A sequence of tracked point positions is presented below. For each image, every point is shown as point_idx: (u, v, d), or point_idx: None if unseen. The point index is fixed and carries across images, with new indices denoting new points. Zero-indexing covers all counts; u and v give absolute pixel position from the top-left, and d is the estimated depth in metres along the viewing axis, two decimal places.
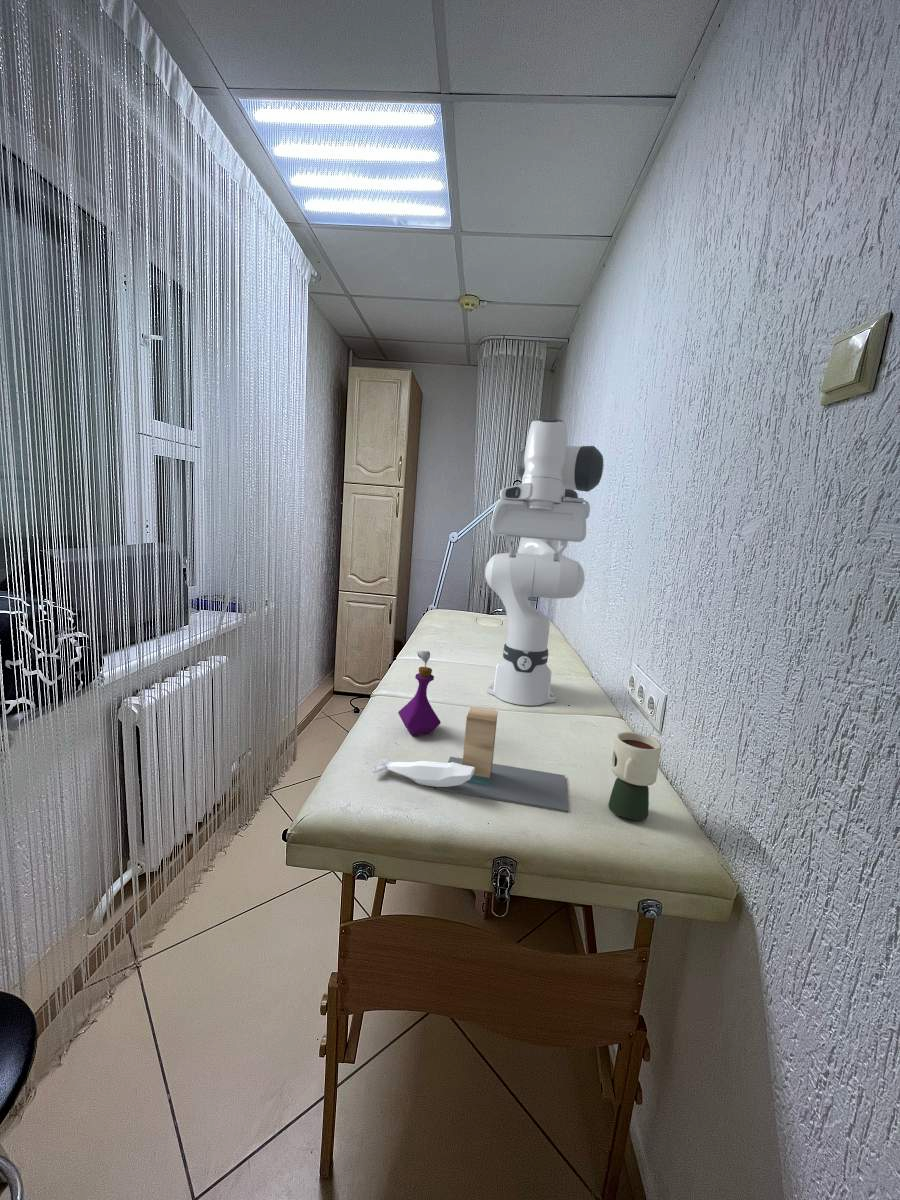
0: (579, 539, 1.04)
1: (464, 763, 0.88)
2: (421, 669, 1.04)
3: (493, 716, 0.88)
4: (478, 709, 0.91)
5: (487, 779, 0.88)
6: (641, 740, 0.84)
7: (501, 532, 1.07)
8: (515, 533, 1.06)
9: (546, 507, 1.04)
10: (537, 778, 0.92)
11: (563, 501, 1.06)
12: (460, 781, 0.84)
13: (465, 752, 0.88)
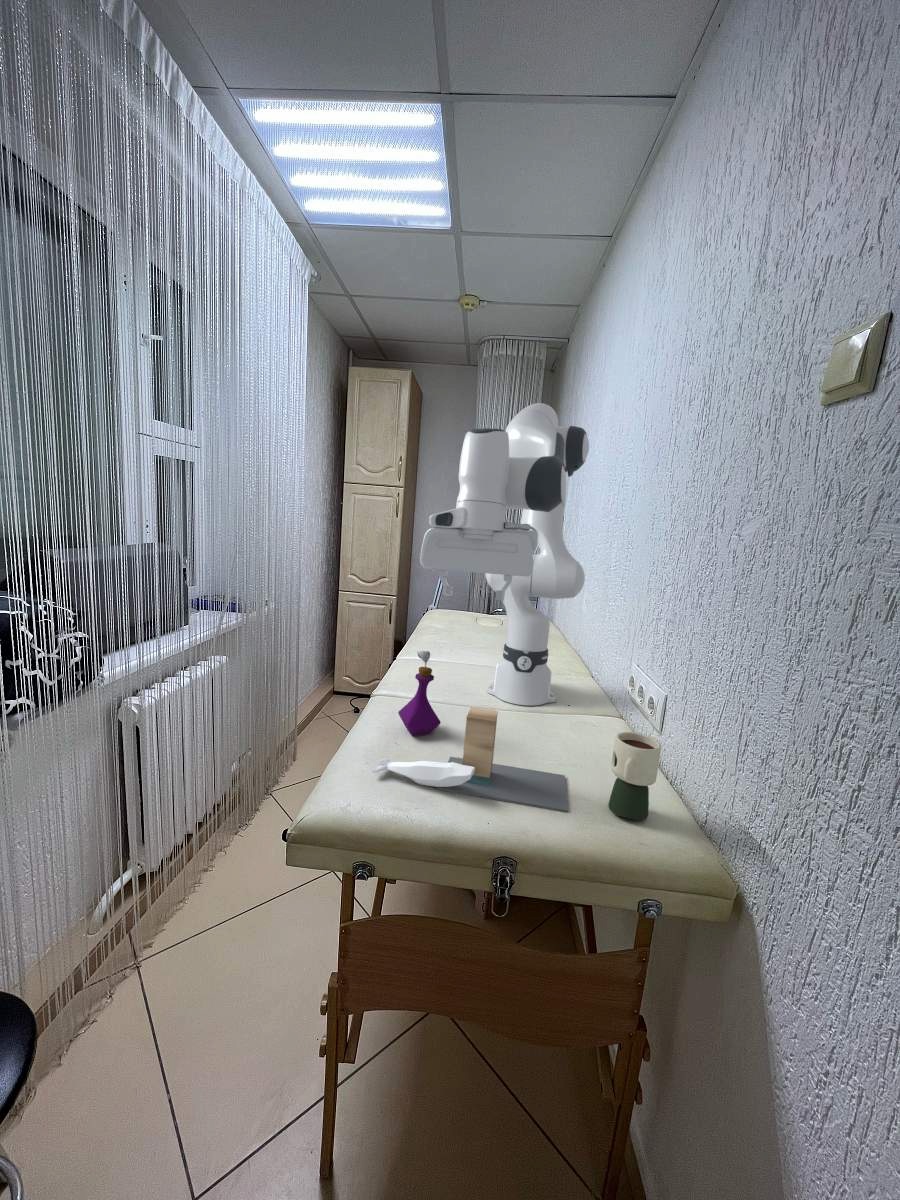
0: (525, 574, 0.86)
1: (464, 763, 0.88)
2: (421, 669, 1.04)
3: (493, 716, 0.88)
4: (478, 709, 0.91)
5: (487, 779, 0.88)
6: (641, 740, 0.84)
7: (433, 566, 0.89)
8: (449, 567, 0.88)
9: (484, 537, 0.86)
10: (537, 778, 0.92)
11: (506, 528, 0.88)
12: (460, 781, 0.84)
13: (465, 752, 0.88)
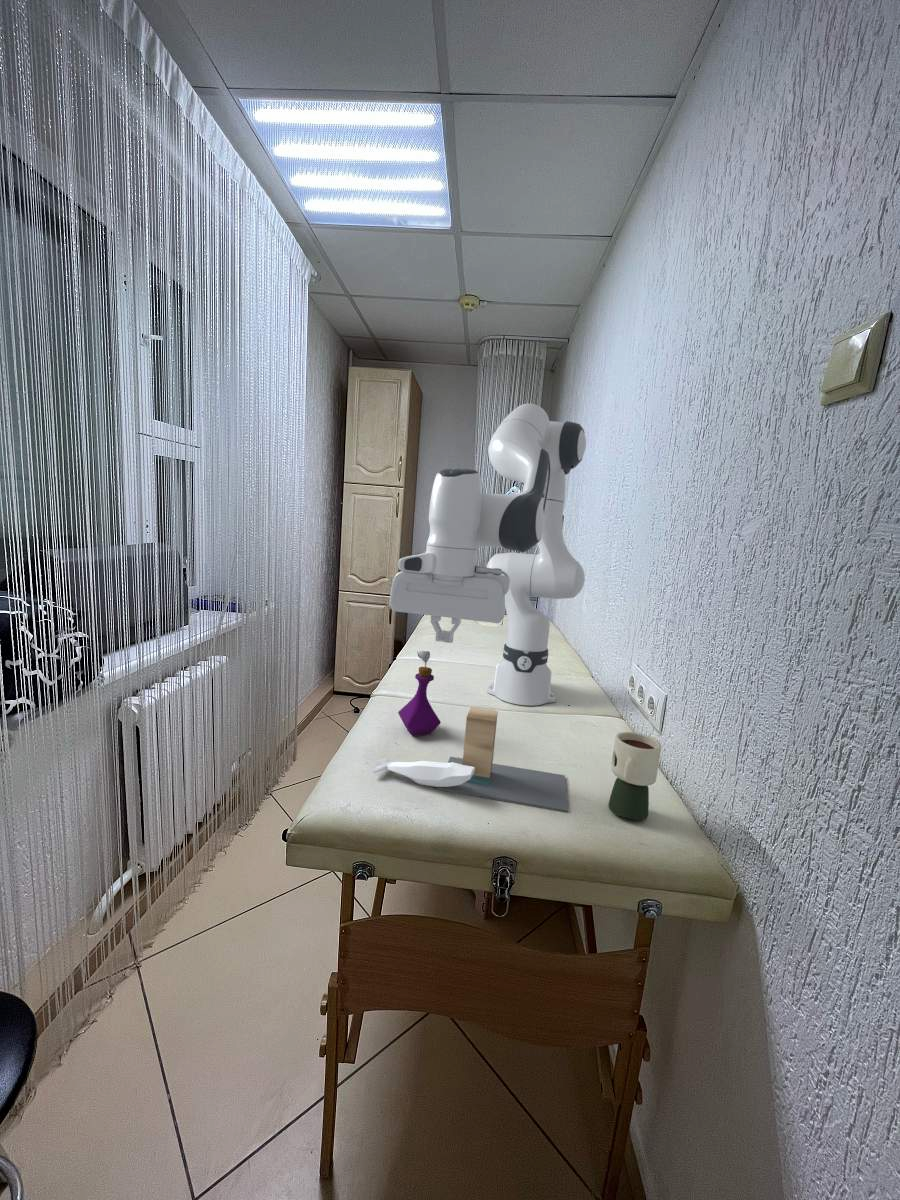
0: (495, 621, 0.84)
1: (464, 763, 0.88)
2: (421, 669, 1.04)
3: (493, 716, 0.88)
4: (478, 709, 0.91)
5: (487, 779, 0.88)
6: (641, 740, 0.84)
7: (402, 610, 0.87)
8: (419, 611, 0.87)
9: (454, 583, 0.84)
10: (537, 778, 0.92)
11: (477, 572, 0.85)
12: (460, 781, 0.84)
13: (465, 752, 0.88)
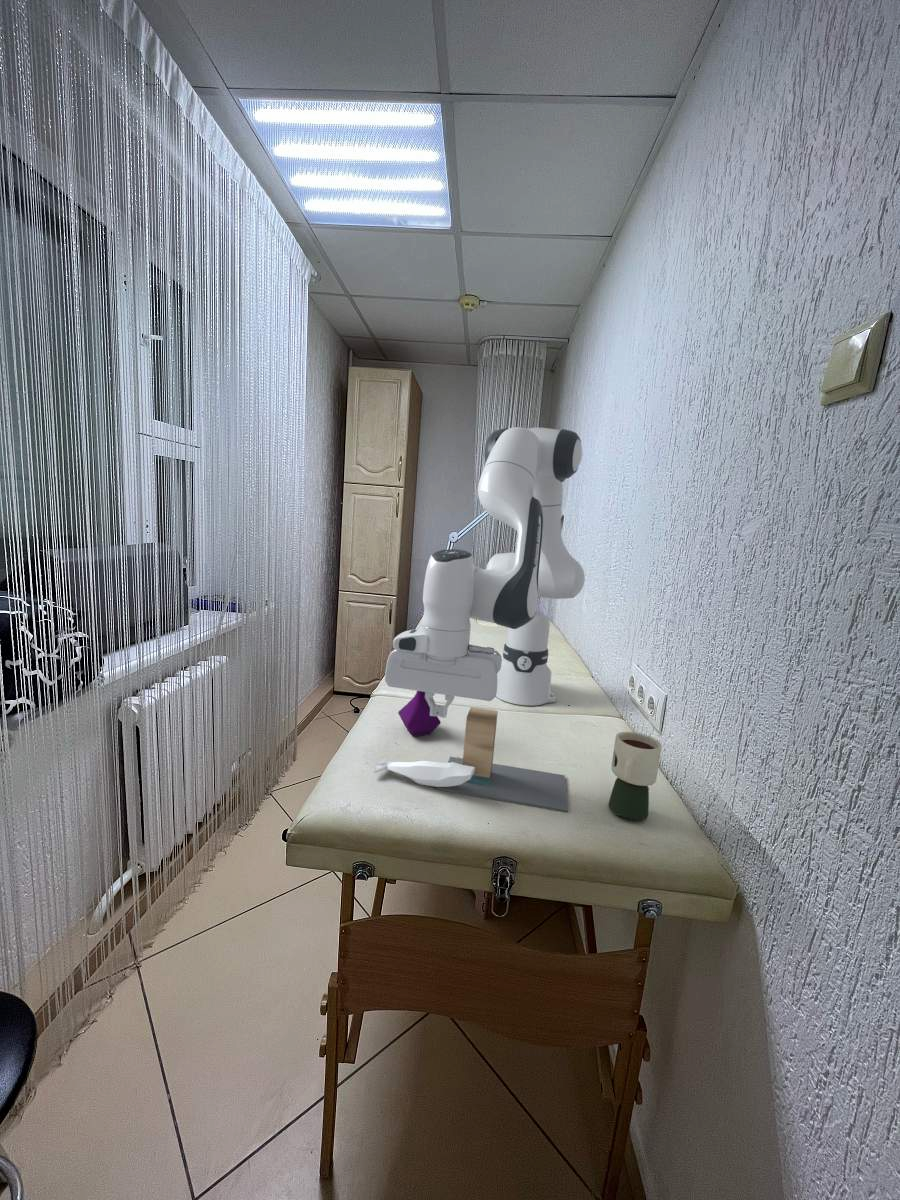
0: (488, 699, 0.87)
1: (464, 763, 0.88)
2: None
3: (493, 716, 0.88)
4: (478, 709, 0.91)
5: (487, 779, 0.88)
6: (641, 740, 0.84)
7: (397, 686, 0.89)
8: (413, 688, 0.89)
9: (447, 662, 0.86)
10: (537, 778, 0.92)
11: (470, 651, 0.87)
12: (460, 781, 0.84)
13: (465, 752, 0.88)
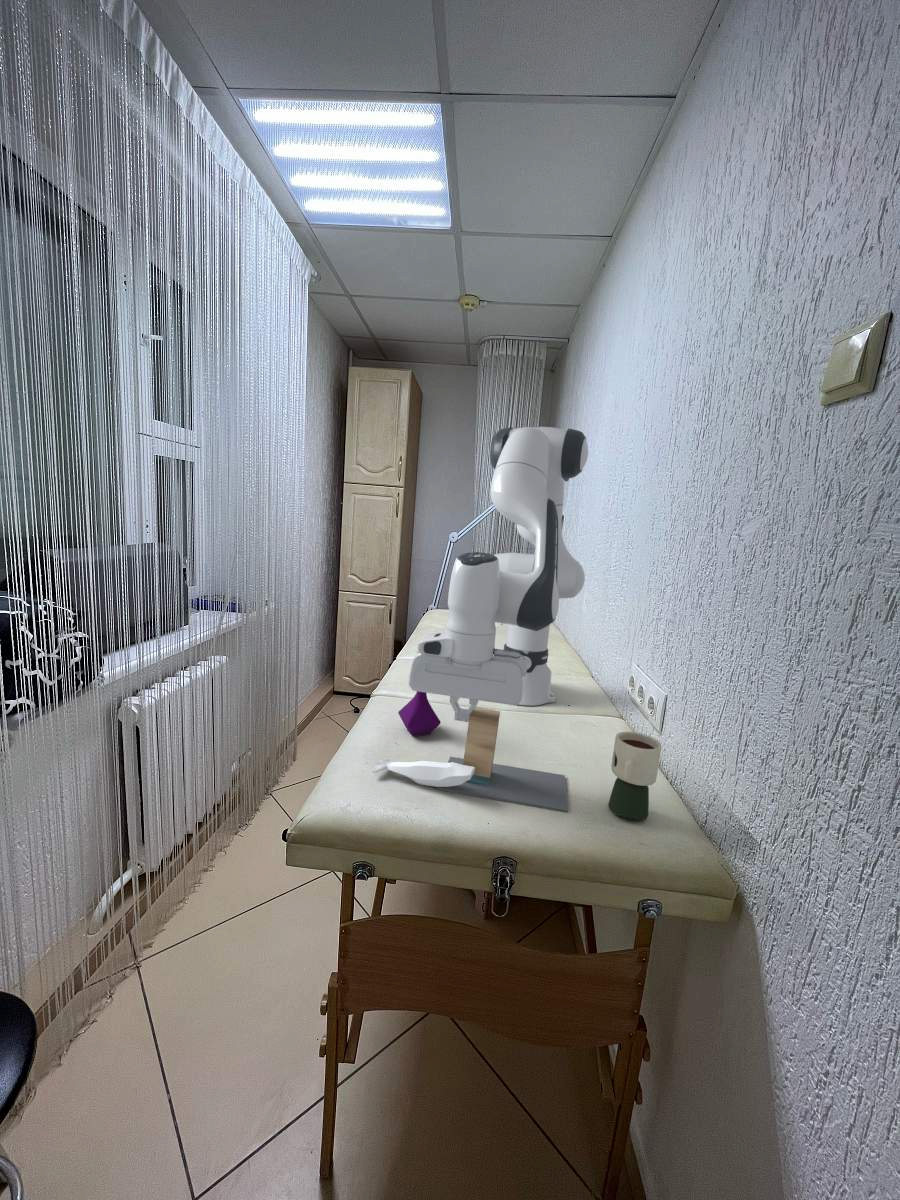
0: (513, 704, 0.86)
1: (465, 762, 0.88)
2: None
3: (496, 717, 0.88)
4: (481, 709, 0.91)
5: (487, 779, 0.88)
6: (641, 740, 0.84)
7: (421, 690, 0.89)
8: (438, 692, 0.88)
9: (473, 666, 0.85)
10: (537, 778, 0.92)
11: (495, 655, 0.87)
12: (460, 781, 0.84)
13: (466, 751, 0.88)
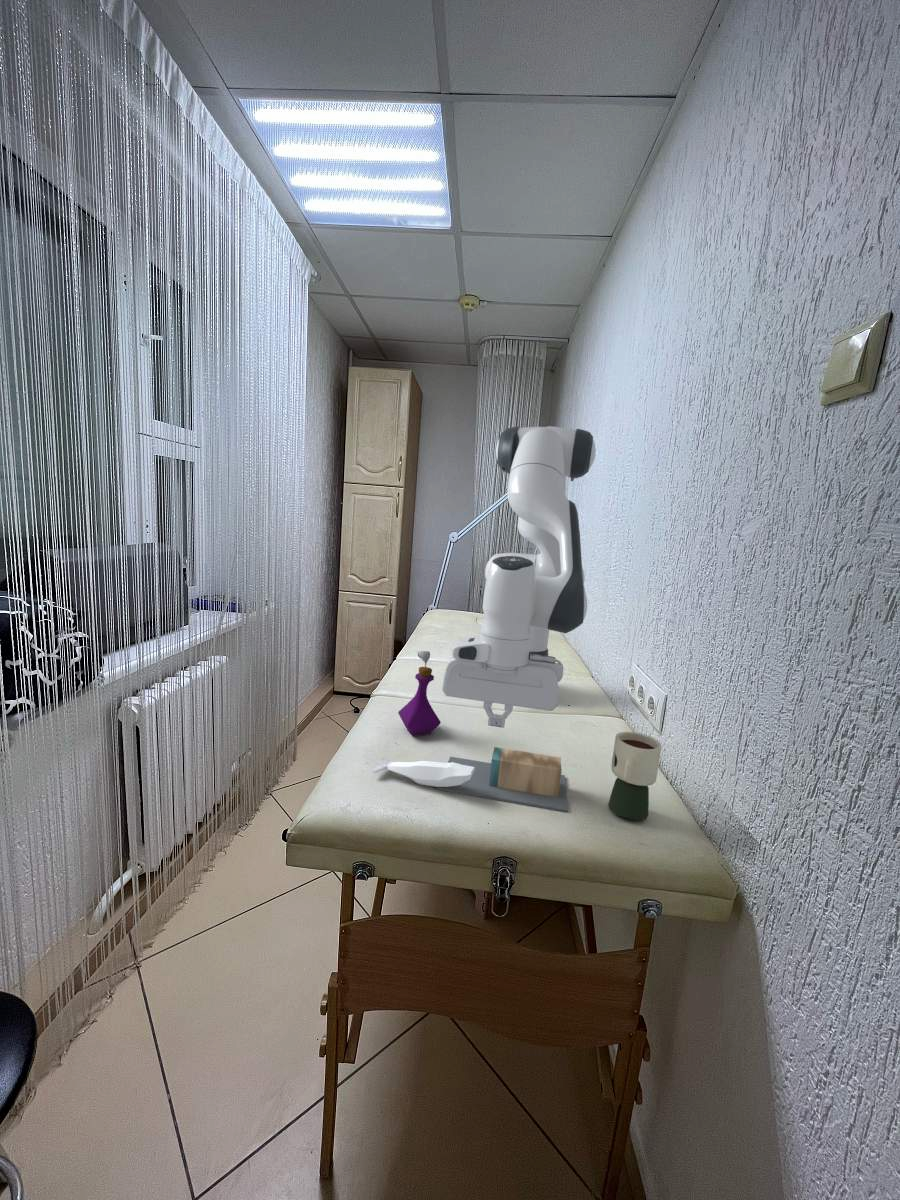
0: (549, 709, 0.85)
1: (510, 764, 0.87)
2: (421, 669, 1.04)
3: None
4: None
5: (495, 784, 0.88)
6: (641, 740, 0.84)
7: (455, 695, 0.88)
8: (472, 697, 0.87)
9: (508, 672, 0.84)
10: None
11: (530, 660, 0.86)
12: (460, 781, 0.84)
13: (522, 766, 0.86)
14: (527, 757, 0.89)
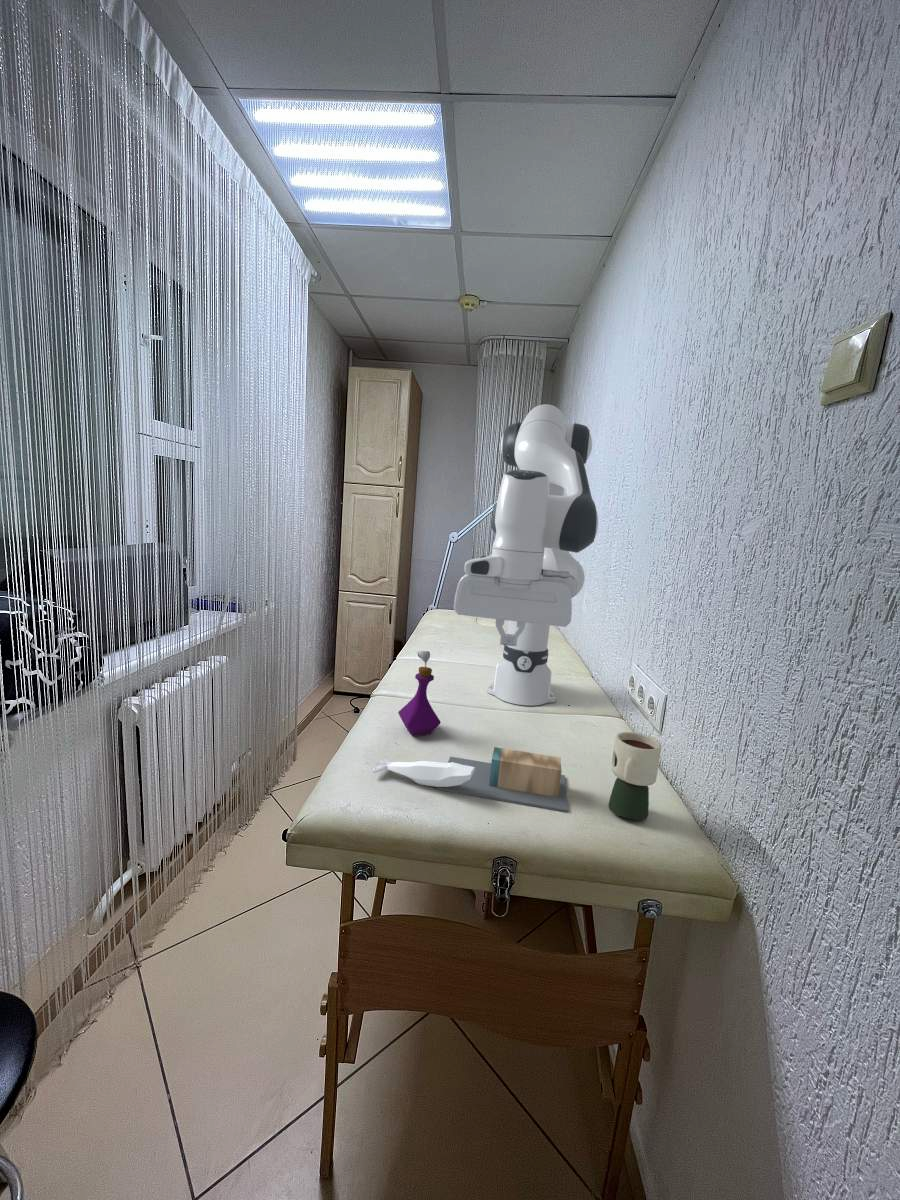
0: (563, 625, 0.84)
1: (510, 764, 0.87)
2: (421, 669, 1.04)
3: None
4: None
5: (495, 784, 0.88)
6: (641, 740, 0.84)
7: (467, 613, 0.86)
8: (484, 615, 0.86)
9: (522, 586, 0.83)
10: None
11: (543, 575, 0.84)
12: (460, 781, 0.84)
13: (522, 766, 0.86)
14: (527, 757, 0.89)
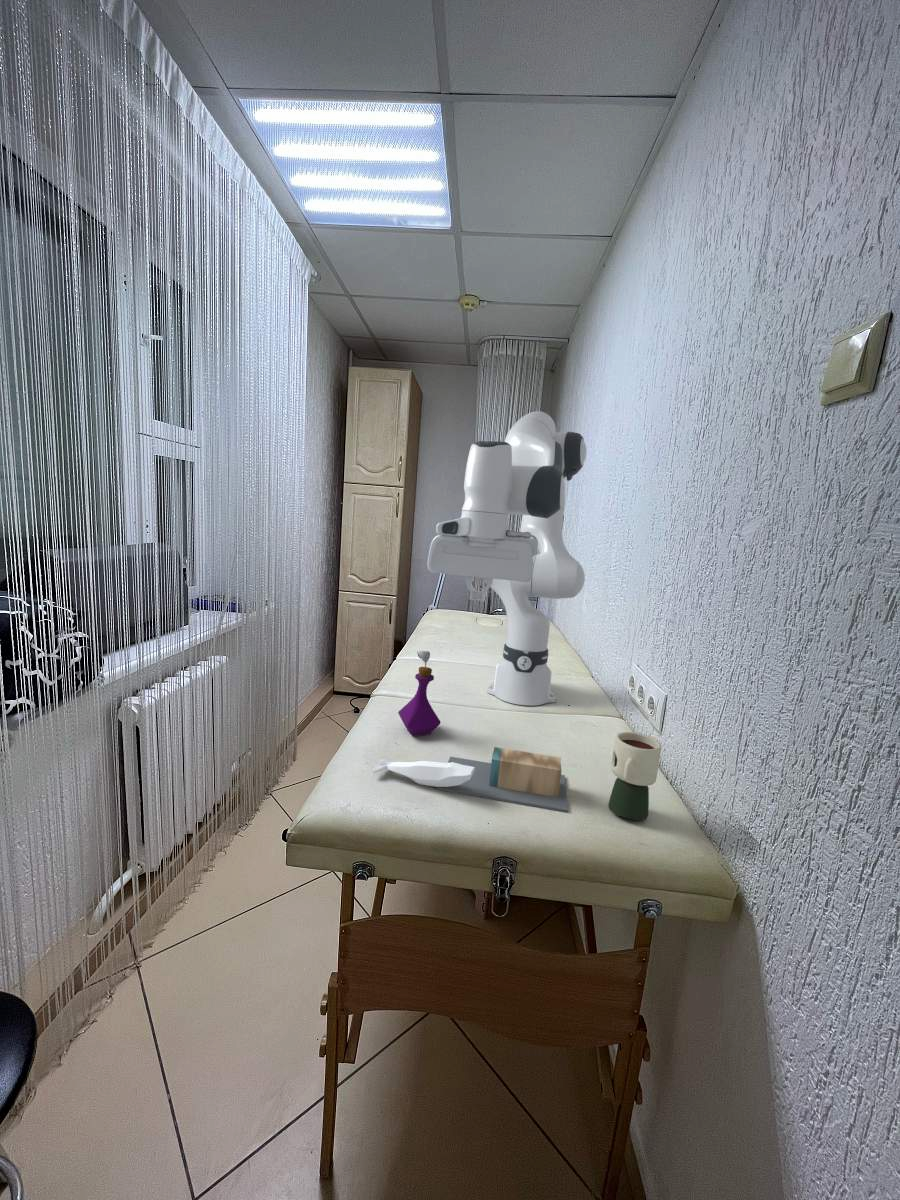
0: (525, 580, 0.93)
1: (510, 764, 0.87)
2: (421, 669, 1.04)
3: None
4: None
5: (495, 784, 0.88)
6: (641, 740, 0.84)
7: (439, 571, 0.95)
8: (454, 572, 0.95)
9: (487, 545, 0.92)
10: None
11: (508, 536, 0.93)
12: (460, 781, 0.84)
13: (522, 766, 0.86)
14: (527, 757, 0.89)
